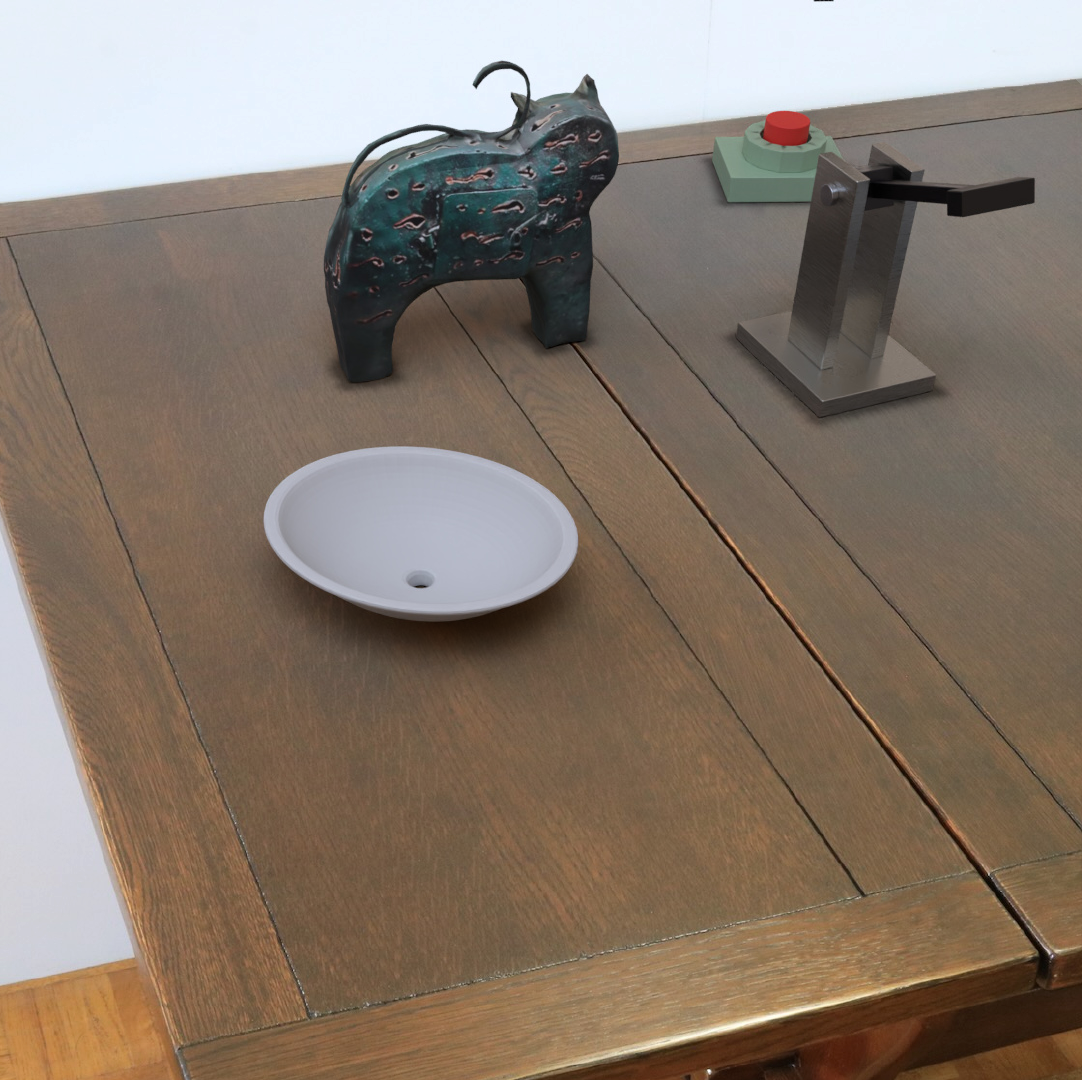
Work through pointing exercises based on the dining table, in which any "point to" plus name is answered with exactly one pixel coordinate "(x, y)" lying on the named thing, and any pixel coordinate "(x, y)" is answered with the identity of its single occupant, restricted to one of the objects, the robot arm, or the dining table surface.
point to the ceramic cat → (471, 221)
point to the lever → (947, 193)
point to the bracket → (845, 296)
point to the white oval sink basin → (420, 532)
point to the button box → (768, 166)
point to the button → (786, 128)
